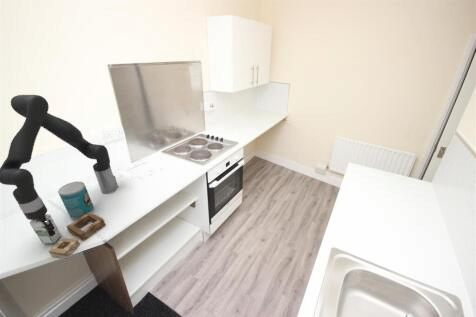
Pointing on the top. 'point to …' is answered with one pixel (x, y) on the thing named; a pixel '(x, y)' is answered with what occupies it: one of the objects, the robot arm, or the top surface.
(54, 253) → the tan wooden square frame
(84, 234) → the brown wooden square frame
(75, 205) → the food can
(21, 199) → the robot arm
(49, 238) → the syrup box
